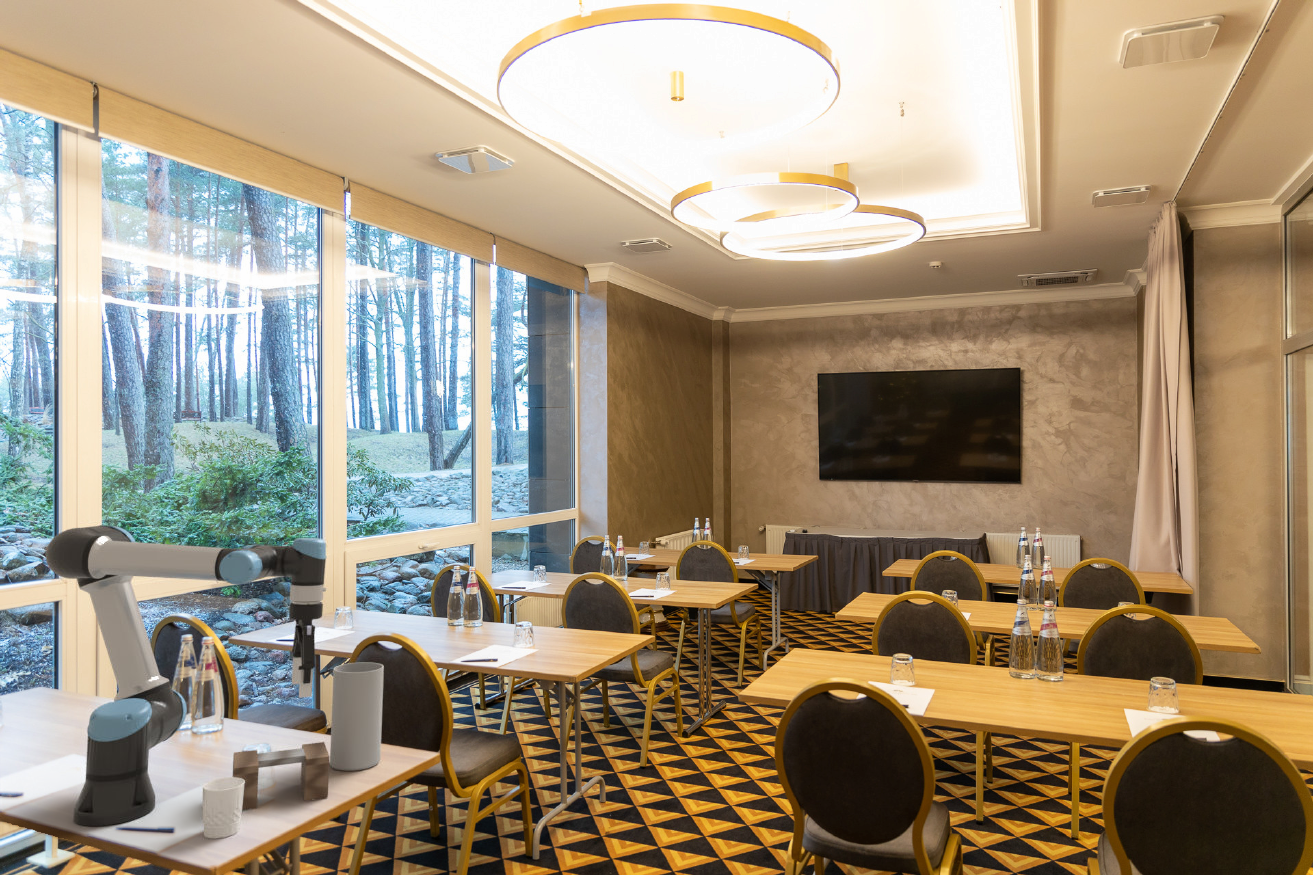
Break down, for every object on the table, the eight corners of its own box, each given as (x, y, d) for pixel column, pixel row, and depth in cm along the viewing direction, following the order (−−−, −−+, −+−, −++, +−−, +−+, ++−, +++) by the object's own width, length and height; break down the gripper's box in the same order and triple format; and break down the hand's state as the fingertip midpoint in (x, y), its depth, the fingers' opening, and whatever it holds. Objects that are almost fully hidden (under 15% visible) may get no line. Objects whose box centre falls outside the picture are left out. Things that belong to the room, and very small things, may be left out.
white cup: (250, 825, 178) (252, 778, 178) (227, 841, 170) (230, 791, 171) (215, 823, 179) (218, 776, 179) (191, 838, 171) (194, 789, 171)
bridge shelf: (232, 811, 185) (234, 768, 186) (231, 793, 196) (233, 752, 196) (327, 797, 194) (329, 756, 195) (322, 780, 205) (324, 741, 205)
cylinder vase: (361, 774, 210) (364, 674, 212) (319, 768, 214) (323, 670, 215) (389, 758, 222) (393, 664, 224) (349, 753, 226) (353, 660, 227)
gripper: (331, 608, 193) (325, 700, 192) (315, 594, 215) (310, 677, 214) (296, 610, 190) (290, 704, 188) (283, 595, 211) (278, 680, 210)
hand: (301, 690), depth 201 cm, fingers open, 13 cm apart
